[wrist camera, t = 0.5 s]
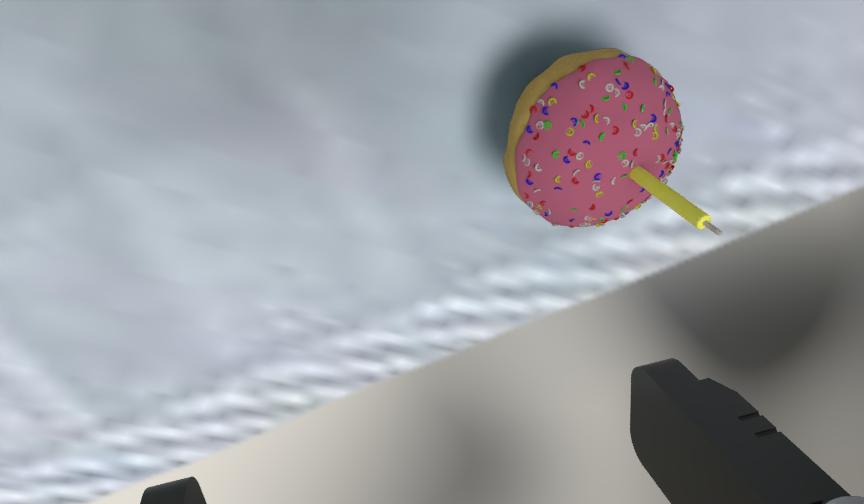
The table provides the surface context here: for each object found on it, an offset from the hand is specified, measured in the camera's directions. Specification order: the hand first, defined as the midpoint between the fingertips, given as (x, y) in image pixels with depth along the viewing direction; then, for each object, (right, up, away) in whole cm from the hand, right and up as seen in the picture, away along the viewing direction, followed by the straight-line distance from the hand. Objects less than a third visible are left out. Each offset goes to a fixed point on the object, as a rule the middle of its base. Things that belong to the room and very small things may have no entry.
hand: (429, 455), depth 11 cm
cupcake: (+7, +11, +22) cm, 25 cm away
